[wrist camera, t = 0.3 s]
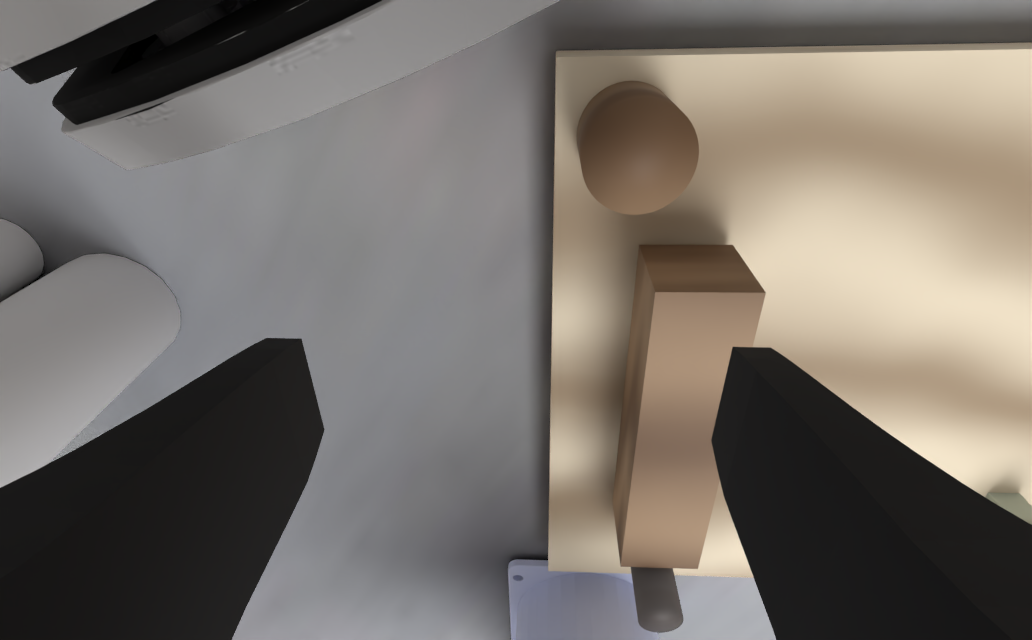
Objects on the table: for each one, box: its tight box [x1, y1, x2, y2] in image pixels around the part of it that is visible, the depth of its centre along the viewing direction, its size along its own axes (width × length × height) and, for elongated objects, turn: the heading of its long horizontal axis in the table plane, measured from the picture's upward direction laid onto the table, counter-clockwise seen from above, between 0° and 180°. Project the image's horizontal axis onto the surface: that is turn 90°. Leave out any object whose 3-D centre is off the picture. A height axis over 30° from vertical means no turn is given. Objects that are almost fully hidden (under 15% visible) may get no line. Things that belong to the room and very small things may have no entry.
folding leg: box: [612, 245, 766, 569], centre depth 19 cm, size 12×3×3 cm, turn 1°
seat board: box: [548, 42, 1032, 633], centre depth 18 cm, size 22×22×6 cm
